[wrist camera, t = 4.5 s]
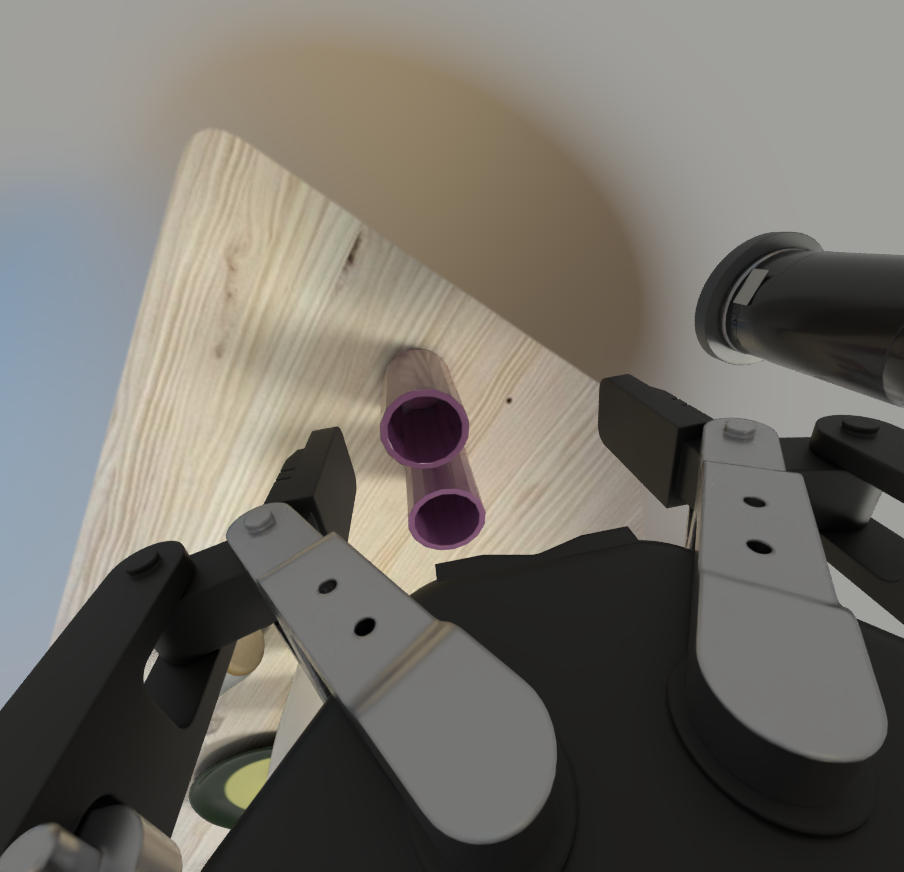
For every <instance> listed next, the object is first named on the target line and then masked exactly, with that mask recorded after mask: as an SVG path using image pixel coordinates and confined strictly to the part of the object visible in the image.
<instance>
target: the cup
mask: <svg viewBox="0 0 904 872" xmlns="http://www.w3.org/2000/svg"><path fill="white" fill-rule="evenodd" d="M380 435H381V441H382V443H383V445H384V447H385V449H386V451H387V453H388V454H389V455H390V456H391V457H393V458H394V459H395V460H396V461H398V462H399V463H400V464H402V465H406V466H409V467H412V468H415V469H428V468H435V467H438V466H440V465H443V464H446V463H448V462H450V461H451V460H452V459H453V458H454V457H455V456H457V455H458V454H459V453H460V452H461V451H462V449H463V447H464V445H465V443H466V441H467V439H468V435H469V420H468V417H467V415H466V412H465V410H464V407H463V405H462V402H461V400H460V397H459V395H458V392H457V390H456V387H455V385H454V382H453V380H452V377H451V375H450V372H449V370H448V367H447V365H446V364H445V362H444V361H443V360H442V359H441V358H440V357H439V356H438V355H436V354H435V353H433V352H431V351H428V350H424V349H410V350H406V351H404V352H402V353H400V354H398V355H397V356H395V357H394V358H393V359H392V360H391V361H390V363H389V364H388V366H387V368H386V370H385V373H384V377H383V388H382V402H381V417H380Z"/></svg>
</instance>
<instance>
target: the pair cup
mask: <svg viewBox="0 0 904 872" xmlns="http://www.w3.org/2000/svg"><path fill="white" fill-rule="evenodd" d="M405 468H406V488H407V507H408V527H409V530H410V532H411V534H412V536H413V537H414V539H415V540H416V541H418V542H419V543H421V544H422V545H423V546H425V547H428V548H432V549H436V550H449V549H455V548H458V547H461V546H463V545H466V544H468V543H469V542H470V541H472V540H473V539H474V538H475V537H477V536H478V534H479V533H480V531H481V529H482V528H483V526H484V524H485V514H486V512H485V509H484V506H483V503H482V500H481V496H480V493H479V490H478V487H477V484H476V481H475V478H474V475H473V472H472V469H471V466H470V463H469V460H468V457H467V454H466V451H465V449H464V447H463V449H462V451H461V452H460V453H459V454H458V455H457V456H455V457H454V458H453V459H452V460H451V461H450V462H448V463H446V464H443V465H440V466H438V467H435V468H428V469H415V468H412V467H409V466H406V465H405Z"/></svg>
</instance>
